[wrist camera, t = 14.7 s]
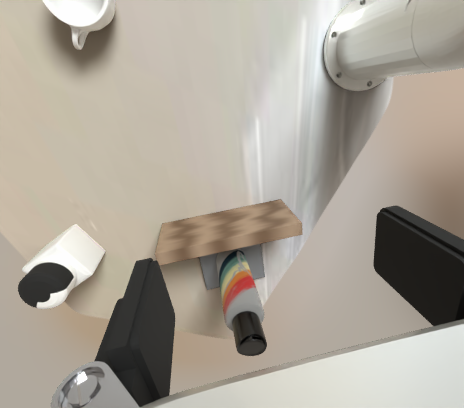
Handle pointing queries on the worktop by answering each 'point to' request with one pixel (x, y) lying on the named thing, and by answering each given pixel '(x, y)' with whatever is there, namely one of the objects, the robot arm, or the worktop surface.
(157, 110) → the worktop surface
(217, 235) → the brown wooden board
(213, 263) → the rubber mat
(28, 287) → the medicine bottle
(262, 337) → the lotion bottle
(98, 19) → the teacup
